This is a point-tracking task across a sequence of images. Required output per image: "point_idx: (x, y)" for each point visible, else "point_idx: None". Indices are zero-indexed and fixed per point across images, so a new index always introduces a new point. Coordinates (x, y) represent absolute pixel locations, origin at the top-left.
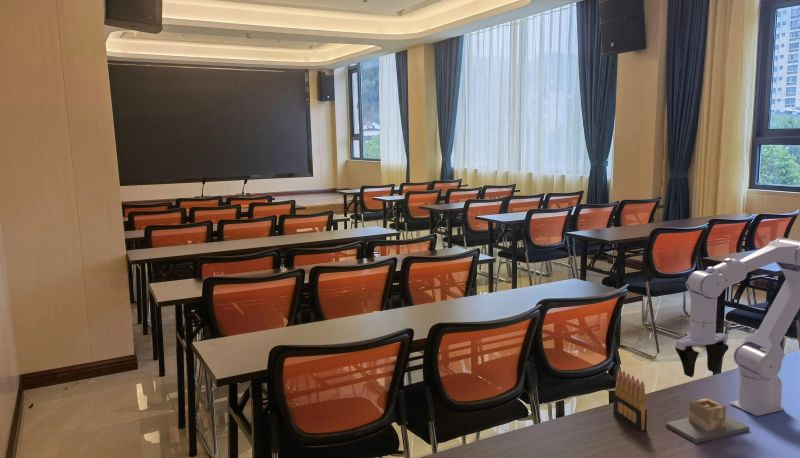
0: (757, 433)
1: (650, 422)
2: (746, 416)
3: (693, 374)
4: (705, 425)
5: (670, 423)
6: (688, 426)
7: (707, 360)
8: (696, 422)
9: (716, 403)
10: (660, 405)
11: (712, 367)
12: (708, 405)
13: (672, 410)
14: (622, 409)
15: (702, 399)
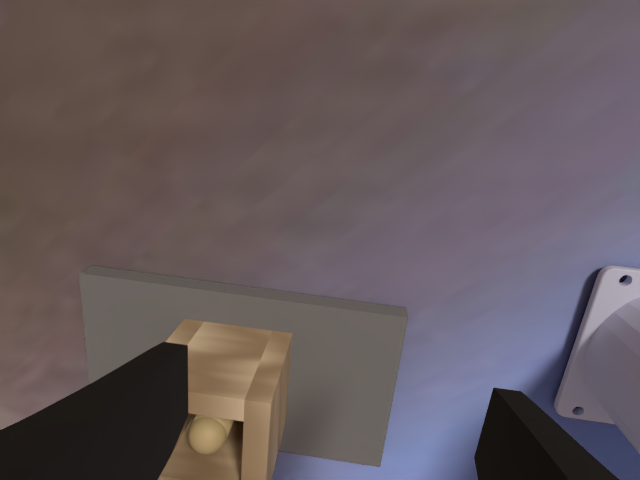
0: (385, 476)
1: (54, 200)
2: (514, 381)
3: (172, 442)
4: None
5: (91, 289)
6: (146, 345)
7: (548, 457)
8: None
9: (252, 469)
10: (247, 73)
11: (493, 473)
12: (202, 450)
13: (255, 158)
14: None
15: (226, 403)
